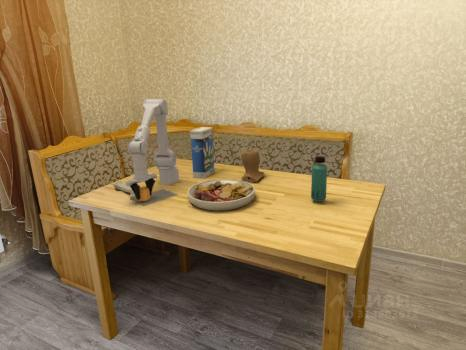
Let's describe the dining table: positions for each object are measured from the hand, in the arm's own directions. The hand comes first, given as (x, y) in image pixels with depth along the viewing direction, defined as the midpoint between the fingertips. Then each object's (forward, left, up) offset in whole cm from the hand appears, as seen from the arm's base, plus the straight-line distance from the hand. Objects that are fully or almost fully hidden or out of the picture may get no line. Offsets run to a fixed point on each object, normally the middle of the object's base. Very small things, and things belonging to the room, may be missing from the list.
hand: (144, 197), depth 149 cm
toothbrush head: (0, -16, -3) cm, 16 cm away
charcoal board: (-5, 0, -2) cm, 6 cm away
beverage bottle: (-50, +58, -3) cm, 77 cm away
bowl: (-25, +24, -3) cm, 35 cm away
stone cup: (-56, +14, -3) cm, 58 cm away
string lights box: (-44, -11, -3) cm, 45 cm away
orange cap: (0, 0, -1) cm, 1 cm away
